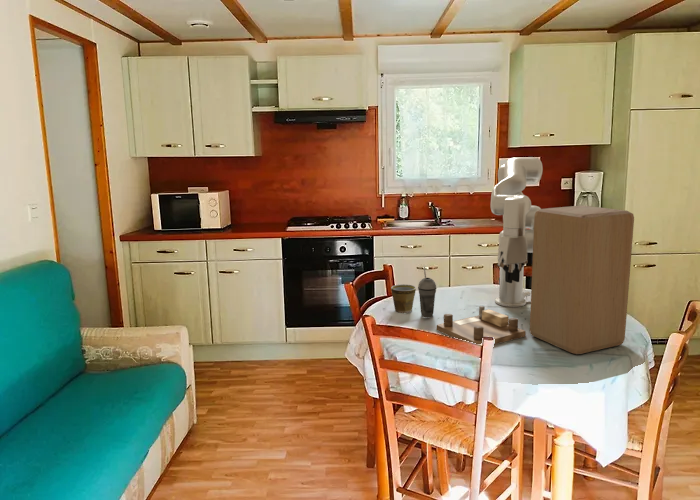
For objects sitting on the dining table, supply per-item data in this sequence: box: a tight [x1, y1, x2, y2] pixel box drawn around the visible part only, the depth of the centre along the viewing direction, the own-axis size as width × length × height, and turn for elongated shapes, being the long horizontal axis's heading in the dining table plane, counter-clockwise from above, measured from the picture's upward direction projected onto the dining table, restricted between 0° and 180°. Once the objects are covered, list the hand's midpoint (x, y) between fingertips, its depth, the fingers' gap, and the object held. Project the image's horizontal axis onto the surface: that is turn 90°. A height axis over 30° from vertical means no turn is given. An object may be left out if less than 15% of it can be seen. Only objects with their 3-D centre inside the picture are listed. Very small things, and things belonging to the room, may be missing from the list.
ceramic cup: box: [390, 284, 417, 314], centre depth 223 cm, size 13×10×10 cm
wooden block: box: [529, 204, 635, 355], centre depth 181 cm, size 22×22×45 cm
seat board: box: [435, 305, 527, 345], centre depth 194 cm, size 22×22×6 cm
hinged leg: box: [482, 308, 510, 327], centre depth 199 cm, size 10×3×3 cm, turn 29°
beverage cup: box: [417, 266, 438, 319], centre depth 213 cm, size 7×7×20 cm
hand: (512, 281), depth 198 cm, fingers open, 2 cm apart
